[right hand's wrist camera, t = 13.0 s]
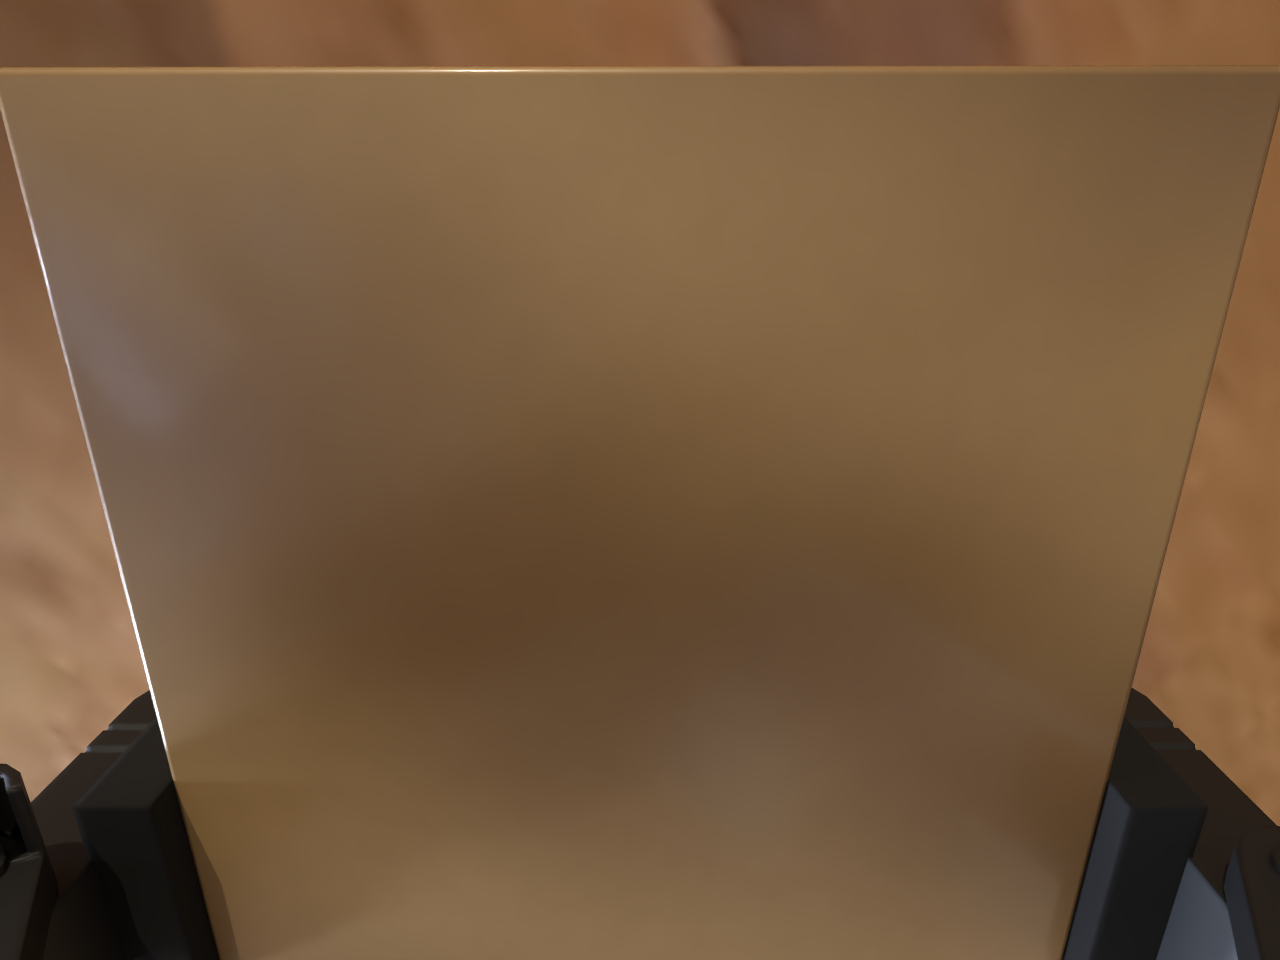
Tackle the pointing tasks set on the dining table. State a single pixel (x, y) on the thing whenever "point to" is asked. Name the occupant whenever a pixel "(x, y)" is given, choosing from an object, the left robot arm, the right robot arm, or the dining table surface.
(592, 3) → the dining table surface
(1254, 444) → the dining table surface
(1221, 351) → the dining table surface
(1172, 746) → the right robot arm
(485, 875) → the long beam
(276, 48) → the dining table surface
